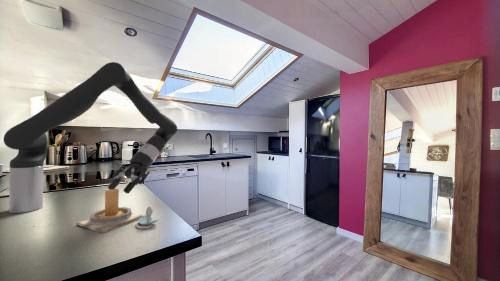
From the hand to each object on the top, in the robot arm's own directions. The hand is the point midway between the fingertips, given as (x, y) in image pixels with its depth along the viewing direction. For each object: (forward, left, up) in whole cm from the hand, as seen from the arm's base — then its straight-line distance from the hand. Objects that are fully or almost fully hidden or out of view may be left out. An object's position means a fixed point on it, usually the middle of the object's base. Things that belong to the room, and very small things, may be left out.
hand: (117, 190), depth 75 cm
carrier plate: (0, -2, -10) cm, 11 cm away
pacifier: (+14, +1, -11) cm, 17 cm away
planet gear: (0, -2, -9) cm, 10 cm away
